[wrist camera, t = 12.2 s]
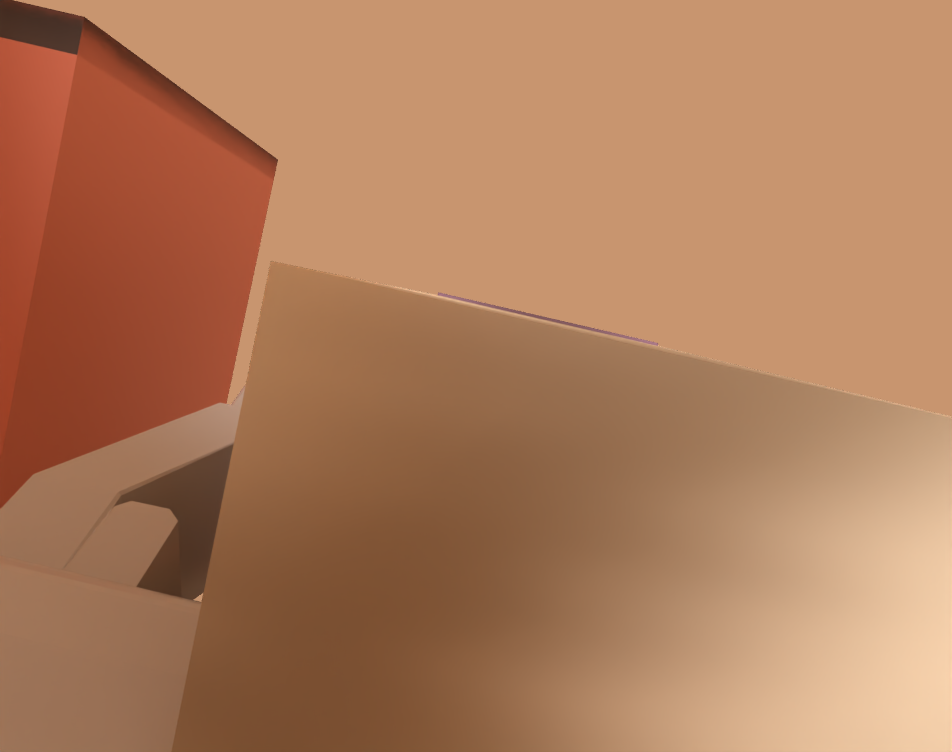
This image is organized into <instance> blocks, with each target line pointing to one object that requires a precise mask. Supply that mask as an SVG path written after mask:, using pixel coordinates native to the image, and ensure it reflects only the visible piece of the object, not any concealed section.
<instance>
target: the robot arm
mask: <svg viewBox="0 0 952 752" xmlns="http://www.w3.org/2000/svg"><path fill="white" fill-rule="evenodd" d="M245 386H246V384H245ZM245 386H244V387H243V389H242V390H241V391H240V393H239V394H238V396H237V397H236V399H235V400H234V401H233V403H232V404H231V405H229V404H224V403H217V404H215V405H212V406H210V407H207V408H204V409H202V410H199V411H197V412H194V413H191V414H189V415H186V416H184V417H181V418H178V419H176V420H173V421H170V422H168V423H165V424H163V425H160V426H157V427H155V428H152V429H150V430H147V431H144V432H142V433H139V434H137V435H134V436H131V437H129V438H126V439H124V440H121V441H118V442H116V443H113V444H111V445H108V446H105V447H103V448H100V449H98V450H95V451H92V452H90V453H87V454H85V455H82V456H79V457H77V458H74V459H72V460H69V461H66V462H64V463H61V464H58V465H56V466H53V467H51V468H48V469H45V470H43V471H40V472H38V473H35V474H33V475H32V476H31V477H30V478H29V479H28V480H27V481H26V482H25V484H24V485H23V486H22V487H21V488H20V489H19V490H18V491H17V492H16V493H15V494H14V495H13V496H12V497H11V498H10V499H9V500H8V502H7V503H6V504H5V505H4V506H3V507H2V508H1V509H0V752H171V751H172V746H173V741H174V736H175V731H176V726H177V721H178V717H179V712H180V707H181V702H182V697H183V692H184V687H185V682H186V677H187V672H188V667H189V662H190V657H191V652H192V647H193V642H194V638H195V633H196V628H197V623H198V618H199V613H200V608H201V603H202V602H199V601H194V600H193V599H195V598H196V597H198V596H199V595H201V594H202V593H203V592H204V588H205V583H206V578H207V573H208V568H209V563H210V559H211V554H212V549H213V544H214V539H215V534H216V529H217V524H218V519H219V514H220V509H221V504H222V499H223V494H224V489H225V484H226V480H227V475H228V470H229V465H230V460H231V455H232V450H233V445H234V440H235V435H236V430H237V425H238V420H239V415H240V410H241V406H242V401H243V396H244V391H245Z"/></svg>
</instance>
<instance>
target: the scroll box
mask: <svg viewBox="0 0 952 752" xmlns="http://www.w3.org/2000/svg"><path fill="white" fill-rule="evenodd" d="M171 752H952V417H951V416H947V415H943V414H938V413H934V412H930V411H926V410H922V409H918V408H913V407H909V406H905V405H901V404H897V403H893V402H888V401H884V400H880V399H876V398H872V397H868V396H863V395H859V394H855V393H851V392H847V391H843V390H839V389H834V388H830V387H826V386H822V385H818V384H814V383H809V382H805V381H801V380H797V379H792V378H788V377H784V376H780V375H776V374H772V373H768V372H764V371H759V370H755V369H751V368H747V367H743V366H739V365H735V364H731V363H726V362H722V361H718V360H714V359H709V358H705V357H701V356H697V355H693V354H689V353H685V352H681V351H676V350H672V349H668V348H664V347H660V346H658V343H655V342H650V341H646V340H642V339H638V338H633V337H629V336H625V335H620V334H616V333H612V332H607V331H603V330H598V329H594V328H590V327H585V326H581V325H577V324H573V323H568V322H564V321H560V320H555V319H551V318H547V317H542V316H538V315H534V314H529V313H525V312H521V311H516V310H512V309H508V308H503V307H499V306H495V305H490V304H486V303H481V302H477V301H473V300H469V299H464V298H460V297H456V296H451V295H447V294H442V293H438V295H434V294H429V293H424V292H419V291H414V290H410V289H405V288H400V287H395V286H390V285H385V284H381V283H376V282H371V281H366V280H361V279H356V278H351V277H347V276H341V275H337V274H332V273H327V272H322V271H317V270H313V269H308V268H303V267H298V266H293V265H288V264H283V263H278V262H274V261H271V262H270V267H269V272H268V278H267V283H266V287H265V292H264V297H263V302H262V307H261V312H260V317H259V322H258V327H257V332H256V336H255V341H254V346H253V352H252V356H251V361H250V366H249V372H248V377H247V381H246V386H245V391H244V396H243V401H242V406H241V410H240V415H239V420H238V425H237V430H236V435H235V440H234V445H233V450H232V455H231V460H230V465H229V470H228V475H227V480H226V484H225V489H224V494H223V499H222V504H221V509H220V514H219V519H218V524H217V529H216V534H215V539H214V544H213V549H212V554H211V559H210V563H209V568H208V573H207V578H206V583H205V588H204V593H203V598H202V603H201V608H200V613H199V618H198V623H197V628H196V633H195V638H194V642H193V647H192V652H191V657H190V662H189V667H188V672H187V677H186V682H185V687H184V692H183V697H182V702H181V707H180V712H179V717H178V721H177V726H176V731H175V736H174V741H173V746H172V751H171Z"/></svg>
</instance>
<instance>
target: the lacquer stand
mask: <svg viewBox="0 0 952 752" xmlns="http://www.w3.org/2000/svg"><path fill="white" fill-rule="evenodd" d="M277 161H278V160H277V159H276V158H275V157H273V156H272V155H271V154H269V153H268V152H267V151H265V150H264V149H263V148H261V147H260V146H259V145H257V144H256V143H255V142H253V141H252V140H250V139H249V138H248V137H246V136H245V135H244V134H242V133H241V132H239V131H238V130H237V129H236V128H234V127H233V126H231V125H230V124H229V123H227V122H226V121H225V120H223V119H222V118H221V117H219V116H218V115H217V114H215V113H214V112H213V111H211V110H210V109H208V108H207V107H206V106H204V105H203V104H202V103H200V102H199V101H198V100H196V99H195V98H194V97H192V96H191V95H189V94H188V93H187V92H185V91H184V90H183V89H181V88H180V87H179V86H177V85H176V84H175V83H173V82H172V81H171V80H169V79H168V78H166V77H165V76H164V75H162V74H161V73H160V72H158V71H157V70H156V69H154V68H153V67H152V66H150V65H149V64H147V63H146V62H145V61H143V60H142V59H141V58H139V57H138V56H137V55H135V54H134V53H133V52H131V51H130V50H128V49H127V48H126V47H124V46H123V45H122V44H120V43H119V42H118V41H116V40H115V39H113V38H112V37H111V36H110V35H108V34H107V33H105V32H104V31H103V30H101V29H100V28H98V27H97V26H96V25H95V24H93V23H92V22H90V21H89V20H88V19H86V18H85V17H82V16H78V15H74V14H69V13H65V12H60V11H56V10H52V9H47V8H43V7H39V6H35V5H31V4H26V3H22V2H18V1H13V0H0V509H1V508H2V507H3V506H4V505H5V504H6V503H7V502H8V500H9V499H10V498H11V497H12V496H13V495H14V494H15V493H16V492H17V491H18V490H19V489H20V488H21V487H22V486H23V485H24V484H25V482H26V481H27V480H28V479H29V478H30V477H31V476H32V475H33V474H35V473H38V472H40V471H43V470H45V469H48V468H51V467H53V466H56V465H58V464H61V463H64V462H66V461H69V460H72V459H74V458H77V457H79V456H82V455H85V454H87V453H90V452H92V451H95V450H98V449H100V448H103V447H105V446H108V445H111V444H113V443H116V442H118V441H121V440H124V439H126V438H129V437H131V436H134V435H137V434H139V433H142V432H144V431H147V430H150V429H152V428H155V427H157V426H160V425H163V424H165V423H168V422H170V421H173V420H176V419H178V418H181V417H184V416H186V415H189V414H191V413H194V412H197V411H199V410H202V409H204V408H207V407H210V406H212V405H215V404H217V403H224V404H226V403H227V398H228V394H229V389H230V384H231V380H232V375H233V370H234V365H235V361H236V356H237V351H238V346H239V342H240V337H241V331H242V327H243V323H244V318H245V313H246V308H247V304H248V299H249V294H250V289H251V285H252V280H253V275H254V270H255V266H256V261H257V256H258V252H259V247H260V242H261V237H262V233H263V228H264V223H265V218H266V214H267V209H268V204H269V199H270V194H271V190H272V185H273V180H274V176H275V171H276V166H277Z"/></svg>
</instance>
